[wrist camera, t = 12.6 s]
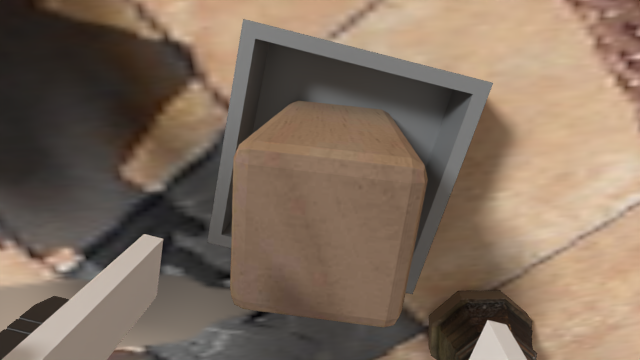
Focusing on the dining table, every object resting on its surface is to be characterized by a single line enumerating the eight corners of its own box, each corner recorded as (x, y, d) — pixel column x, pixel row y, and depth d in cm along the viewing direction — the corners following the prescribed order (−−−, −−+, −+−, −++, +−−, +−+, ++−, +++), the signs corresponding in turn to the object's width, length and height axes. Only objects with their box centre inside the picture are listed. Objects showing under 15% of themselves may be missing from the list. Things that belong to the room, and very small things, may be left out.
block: (391, 109, 37) (435, 165, 18) (376, 203, 40) (401, 337, 21) (289, 98, 37) (227, 142, 18) (283, 192, 40) (224, 314, 21)
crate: (229, 213, 43) (207, 242, 36) (262, 25, 36) (243, 18, 30) (402, 257, 43) (412, 294, 36) (467, 78, 36) (493, 83, 30)
